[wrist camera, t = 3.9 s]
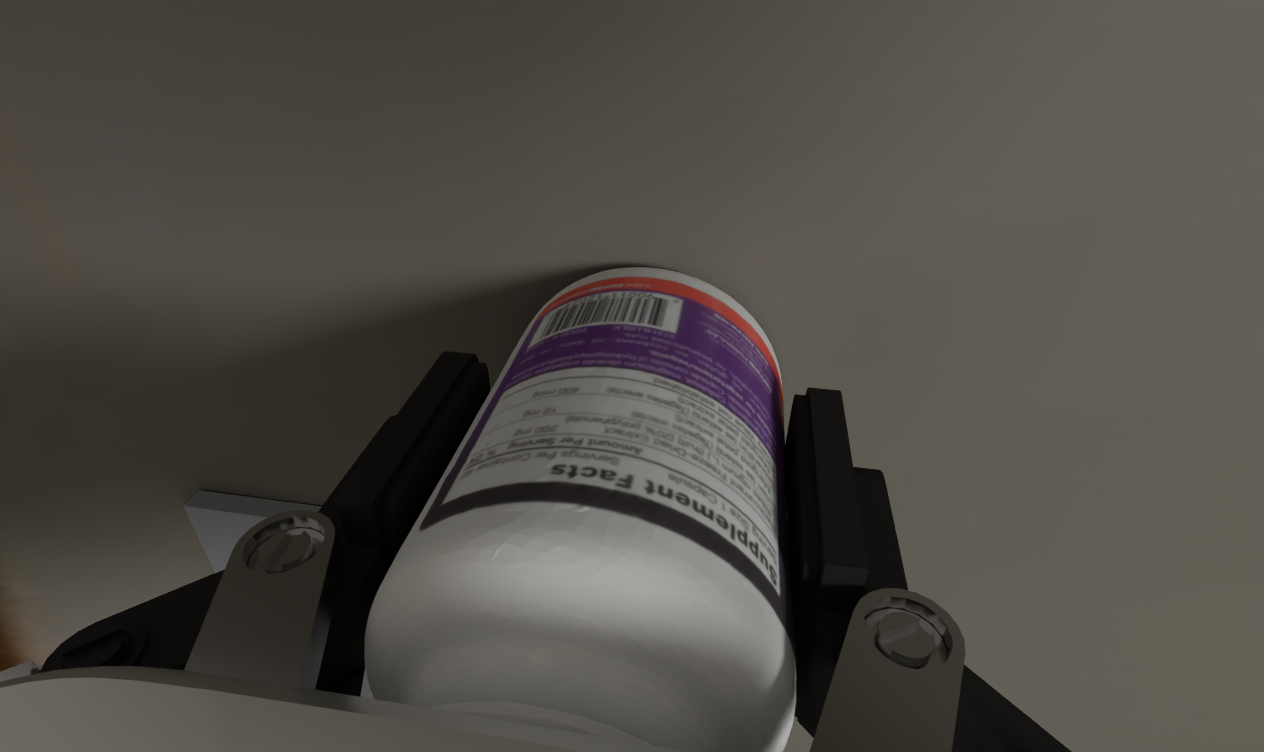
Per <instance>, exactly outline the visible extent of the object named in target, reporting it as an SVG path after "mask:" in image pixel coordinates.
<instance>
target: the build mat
mask: <svg viewBox="0 0 1264 752" xmlns="http://www.w3.org/2000/svg"><path fill="white" fill-rule="evenodd" d="M183 507H184V509H185V511H186V513H187V515H188V518H189V520H190V522H191V524H192V526H193V528H194V530H195V532H196V534H197V536H198V539H199V541H200V543H201V545H202V547H203V549H204V551H205V553H206V555H207V558H208V560H209V562H210V564H211V566H212V568H213V570H214V572H215V573H217V572H219V571H222V570H224V569H225V568H226V565H227V563H228V560H229V558H230V555H231V553H232V550H233V549H234V547H235V545H236V544H237V542H238V540H239V539H240V538H241V537H242V536H243V535H244V534H245V533H246V532H247V531H248V530H249V529H250V528H251V527H253V526H254V525H256V524H258V523H259V522H261V521H262V520H264V519H266V518H269V517H271V516H274V515H276V514H279V513H283V512H288V511H293V510H311V511H315V512H318V511H319V510H320V508H321V507H322V506H314V505H307V504H299V503H292V502H284V501H277V500H269V499H261V498H254V497H246V496H239V495H231V494H224V493H216V492H208V491H201V490H198V491H197V492H196V493H195V494H194V495H193V496H192V497H191V498H190V499H189V500H188V501H187V502H186V503H185V505H184V506H183ZM371 695H373V694H372V692H371Z"/></svg>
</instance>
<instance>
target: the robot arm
mask: <svg viewBox="0 0 1264 752" xmlns="http://www.w3.org/2000/svg"><path fill="white" fill-rule="evenodd" d="M489 393H490V383H489V375H488V368H487V365H486V364H485V363H480V362H479V360H478V358H477V356H476V355H475V354H468V353H458V352H448V351H446V352H443V353H442V354H441V356H440V357H439V358H438V360H437V361H436V362H435V364H434V365H433V366H432V368H431V369H430V370H429V372H428V373H427V375H426V376H425V377H424V379H423V380H422V381H421V383H420V384H419V385H418V387H417V388H416V389H415V391H414V392H413V394H412V395H411V396H410V398H409V399H408V400H407V402H406V403H405V404H404V406H403V407H402V408H401V410H400V411H399V413H398V414H397V415H395V416H392V417H390V418H389V419H388V420H387V421H386V422H385V423H384V424H383V426H382V427H381V428H380V430H379V431H378V432H377V434H376V435H375V436H374V438H373V439H372V440H371V442H370V443H369V444H368V446H367V447H366V448H365V450H364V451H363V452H362V454H361V455H360V456H359V458H358V459H357V460H356V462H355V463H354V464H353V466H352V467H351V468H350V470H349V471H348V472H347V474H346V475H345V476H344V478H343V479H342V480H341V482H340V483H339V484H338V486H337V487H336V488H335V490H334V491H333V492H332V494H331V495H330V496H329V498H328V499H327V500H326V502H325V503H324V504H323V506H322V507H321V508H320V510H319V511H318V512H315V511H311V510H293V511H288V512H283V513H279V514H276V515H274V516H271V517H269V518H266V519H264V520H262V521H261V522H259V523H258V524H256V525H254V526H253V527H251V528H250V529H249V530H248V531H247V532H246V533H245V534H244V535H243V536H242V537H241V538H240V539H239V540H238V542H237V544H236V545H235V547H234V549H233V550H232V553H231V555H230V558H229V560H228V563H227V565H226V568H225V569H224V570H222V571H219V572H217V573H214V574H212V575H210V576H207V577H205V578H202V579H200V580H197V581H195V582H193V583H190V584H188V585H185V586H183V587H180V588H178V589H176V590H173V591H171V592H168V593H166V594H163V595H161V596H159V597H156V598H154V599H151V600H149V601H147V602H144V603H142V604H139V605H137V606H134V607H132V608H130V609H127V610H125V611H122V612H120V613H117V614H115V615H113V616H110V617H108V618H105V619H103V620H100V621H98V622H96V623H94V624H92V625H90V626H88V627H86V628H84V629H82V630H80V631H78V632H77V633H75V634H74V635H73V636H71V637H70V638H69V639H67V640H66V641H64V642H63V643H62V644H61V645H60V646H59V647H58V648H57V649H56V650H55V651H54V652H53V653H52V654H51V655H50V656H49V657H48V658H47V660H46V661H45V663H44V665H42V666H40V667H37V666H36V665H35V664H34V662H33V661H32V660H31V661H28V662H26V663H23V664H20V665H18V666H15V667H13V668H10V669H7V670H5V671H2V672H0V752H686V751H681V750H675V749H669V748H663V747H657V746H652V745H646V744H640V743H634V742H628V741H623V740H617V739H611V738H605V737H599V736H593V735H587V734H581V733H575V732H569V731H564V730H558V729H552V728H546V727H540V726H534V725H528V724H522V723H516V722H510V721H504V720H498V719H492V718H486V717H480V716H474V715H468V714H462V713H456V712H450V711H444V710H438V709H432V708H426V707H420V706H413V705H407V704H401V703H395V702H389V701H382V700H376V699H371V689H370V686H369V683H368V677H367V672H366V666H365V656H364V650H365V632H366V626H367V621H368V617H369V613H370V609H371V607H372V604H373V601H374V599H375V596H376V594H377V592H378V589H379V587H380V585H381V583H382V582H383V580H384V578H385V576H386V574H387V572H388V570H389V568H390V567H391V565H392V563H393V561H394V559H395V557H396V555H397V553H398V552H399V550H400V548H401V546H402V545H403V543H404V541H405V539H406V538H407V536H408V534H409V533H410V531H411V529H412V527H413V526H414V524H415V522H416V521H417V519H418V517H419V515H420V514H421V512H422V510H423V509H424V507H425V505H426V503H427V502H428V500H429V498H430V497H431V495H432V493H433V491H434V490H435V488H436V486H437V484H438V483H439V481H440V479H441V477H442V476H443V474H444V472H445V470H446V469H447V467H448V465H449V463H450V461H451V460H452V458H453V456H454V454H455V453H456V451H457V449H458V447H459V446H460V444H461V442H462V440H463V439H464V437H465V435H466V434H467V432H468V430H469V428H470V426H471V425H472V423H473V421H474V419H475V417H476V416H477V414H478V412H479V410H480V409H481V407H482V405H483V403H484V402H485V400H486V398H487V396H488V395H489ZM785 461H786V487H787V512H788V532H789V549H790V567H791V588H792V603H793V622H794V639H795V656H796V705H795V714H794V716H795V717H797V719H798V722H799V723H800V724H801V725H802V726H803V727H804V728H805V729H806V730H807V732H808V733H809V734H810V735H811V736H812V737H813V738H814V739H813V743H812V746H811V749H810V752H1071V751H1070V750H1069V749H1068V748H1066V747H1065V746H1064V745H1063V744H1061V743H1060V742H1059V741H1058V740H1056V739H1055V738H1054V737H1053V736H1051V735H1050V734H1049V733H1048V732H1047V731H1045V730H1044V729H1043V728H1042V727H1040V726H1039V725H1038V724H1037V723H1035V722H1034V721H1033V720H1032V719H1031V718H1029V717H1028V716H1027V715H1026V714H1024V713H1023V712H1022V711H1021V710H1019V709H1018V708H1017V707H1016V706H1015V705H1013V704H1012V703H1011V702H1010V701H1008V700H1007V699H1006V698H1005V697H1003V696H1002V695H1001V694H1000V693H999V692H997V691H996V690H995V689H994V688H992V687H991V686H990V685H989V684H987V683H986V682H985V681H984V680H983V679H981V678H980V677H979V676H978V675H976V674H975V673H974V672H973V671H971V670H970V669H969V668H968V667H967V666H965V665H964V660H965V643H964V638H963V636H962V634H961V631H960V629H959V627H958V625H957V624H956V622H955V621H954V620H953V619H952V618H951V616H950V615H949V614H948V613H947V612H946V611H945V610H944V609H943V608H941V607H940V606H939V605H937V604H936V603H935V602H934V601H932V600H930V599H928V598H926V597H924V596H922V595H920V594H918V593H915V592H911V591H908V587H907V582H906V578H905V573H904V568H903V563H902V559H901V554H900V549H899V544H898V540H897V535H896V530H895V525H894V521H893V516H892V511H891V506H890V502H889V497H888V492H887V487H886V483H885V478H884V475H883V473H882V472H881V470H876V469H867V468H858V467H853V463H852V457H851V451H850V444H849V438H848V432H847V425H846V419H845V413H844V406H843V400H842V394H841V391H838V390H828V389H818V388H808V389H807V391H806V395H796V394H795V396H794V399H793V404H792V410H791V416H790V421H789V427H788V433H787V438H786V444H785Z"/></svg>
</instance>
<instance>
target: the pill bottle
mask: <svg viewBox="0 0 1264 752" xmlns="http://www.w3.org/2000/svg"><path fill="white" fill-rule="evenodd" d="M364 656H365V666H366V672H367V677H368V683H369V686H370V689H371V692H372V694H373V697H374V699H376V700H382V701H389V702H395V703H401V704H407V705H413V706H420V707H426V708H432V709H438V710H444V711H450V712H456V713H462V714H468V715H474V716H480V717H486V718H492V719H498V720H504V721H510V722H516V723H522V724H528V725H534V726H540V727H546V728H552V729H558V730H564V731H569V732H575V733H581V734H587V735H593V736H599V737H605V738H611V739H617V740H623V741H628V742H634V743H640V744H646V745H652V746H657V747H663V748H669V749H675V750H681V751H686V752H783V750H784V748H785V746H786V743H787V740H788V737H789V734H790V731H791V728H792V725H793V720H794V714H795V705H796V656H795V639H794V622H793V603H792V588H791V567H790V549H789V532H788V512H787V487H786V461H785V435H784V400H783V393H782V382H781V375H780V369H779V365H778V362H777V359H776V356H775V353H774V351H773V348H772V346H771V344H770V342H769V340H768V338H767V336H766V335H765V333H764V331H763V330H762V328H761V327H760V326H759V324H758V323H757V322H756V321H755V319H754V318H753V317H752V316H751V315H750V314H749V313H748V312H747V311H746V310H745V309H744V308H743V307H742V306H741V305H740V304H739V303H738V302H736V301H735V300H734V299H733V298H731V297H730V296H729V295H727V294H726V293H724V292H722V291H721V290H719V289H717V288H716V287H714V286H712V285H710V284H708V283H706V282H704V281H702V280H700V279H697V278H695V277H692V276H689V275H686V274H683V273H679V272H675V271H670V270H666V269H659V268H647V267H627V268H617V269H611V270H606V271H602V272H599V273H596V274H593V275H590V276H588V277H585V278H583V279H580V280H578V281H576V282H574V283H573V284H571V285H569V286H568V287H566V288H565V289H563V290H562V291H560V292H559V293H557V294H556V295H555V296H554V297H553V298H552V299H550V300H549V301H548V302H547V303H546V304H545V305H544V306H543V307H542V308H541V309H540V311H539V312H538V313H537V314H536V316H535V317H534V318H533V320H532V321H531V323H530V324H529V326H528V327H527V329H526V330H525V332H524V334H523V335H522V337H521V339H520V340H519V342H518V344H517V345H516V347H515V349H514V350H513V352H512V354H511V356H510V357H509V359H508V361H507V363H506V365H505V366H504V368H503V370H502V372H501V374H500V375H499V377H498V379H497V381H496V382H495V384H494V386H493V388H492V389H491V391H490V393H489V395H488V396H487V398H486V400H485V402H484V403H483V405H482V407H481V409H480V410H479V412H478V414H477V416H476V417H475V419H474V421H473V423H472V425H471V426H470V428H469V430H468V432H467V434H466V435H465V437H464V439H463V440H462V442H461V444H460V446H459V447H458V449H457V451H456V453H455V454H454V456H453V458H452V460H451V461H450V463H449V465H448V467H447V469H446V470H445V472H444V474H443V476H442V477H441V479H440V481H439V483H438V484H437V486H436V488H435V490H434V491H433V493H432V495H431V497H430V498H429V500H428V502H427V503H426V505H425V507H424V509H423V510H422V512H421V514H420V515H419V517H418V519H417V521H416V522H415V524H414V526H413V527H412V529H411V531H410V533H409V534H408V536H407V538H406V539H405V541H404V543H403V545H402V546H401V548H400V550H399V552H398V553H397V555H396V557H395V559H394V561H393V563H392V565H391V567H390V568H389V570H388V572H387V574H386V576H385V578H384V580H383V582H382V583H381V585H380V587H379V589H378V592H377V594H376V596H375V599H374V601H373V604H372V607H371V609H370V613H369V617H368V621H367V626H366V632H365V650H364Z"/></svg>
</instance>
